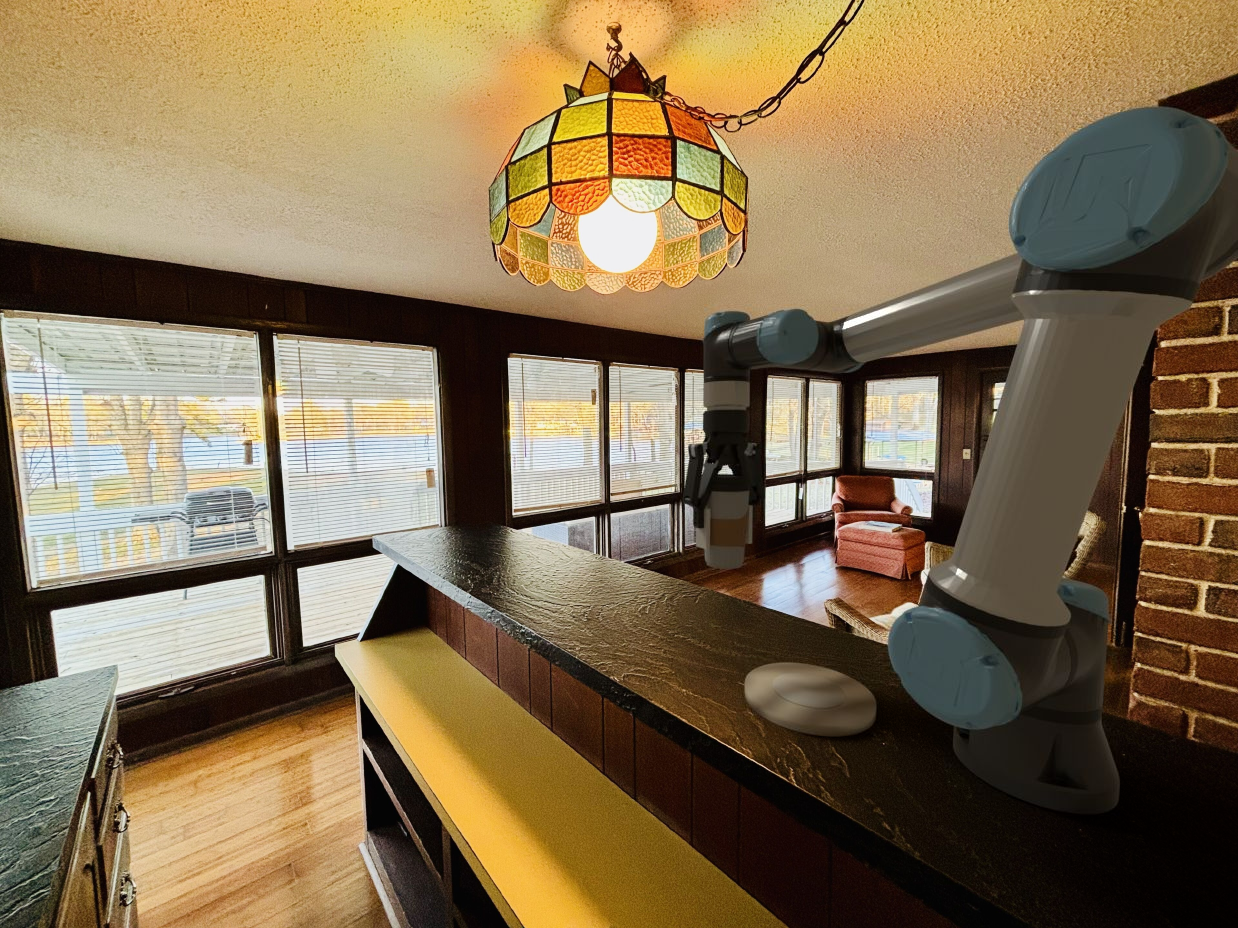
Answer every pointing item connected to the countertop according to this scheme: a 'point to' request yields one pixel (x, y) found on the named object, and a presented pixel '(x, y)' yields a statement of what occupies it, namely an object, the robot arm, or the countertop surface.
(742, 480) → the coffee cup
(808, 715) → the cream round saucer
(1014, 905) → the countertop surface
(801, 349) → the robot arm
